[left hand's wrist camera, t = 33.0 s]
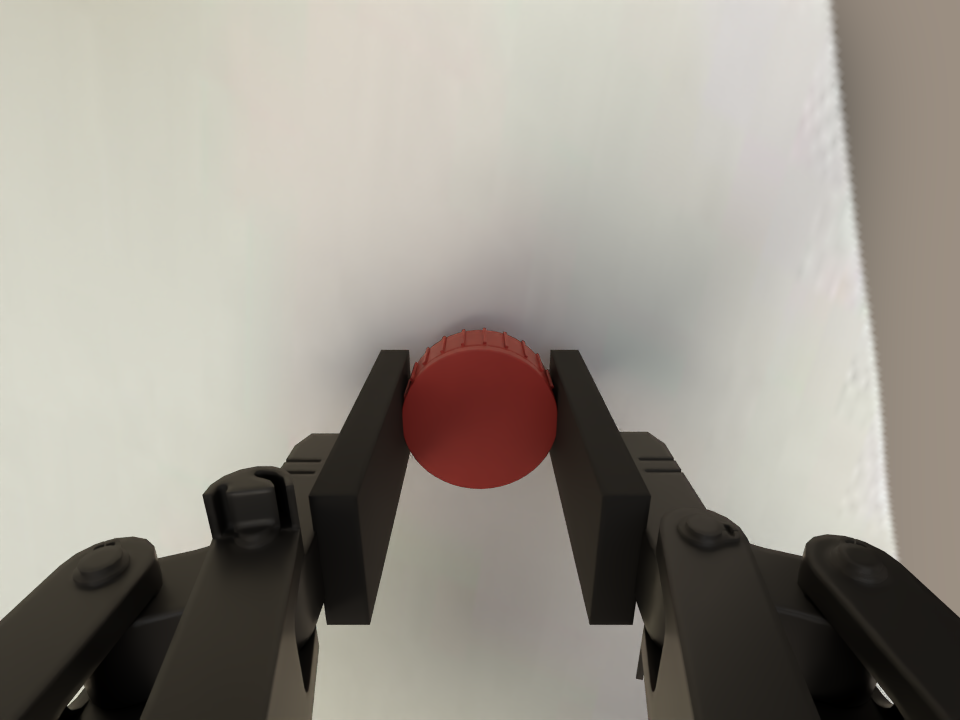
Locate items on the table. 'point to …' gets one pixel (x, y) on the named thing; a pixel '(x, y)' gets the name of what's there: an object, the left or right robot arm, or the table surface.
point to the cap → (479, 410)
